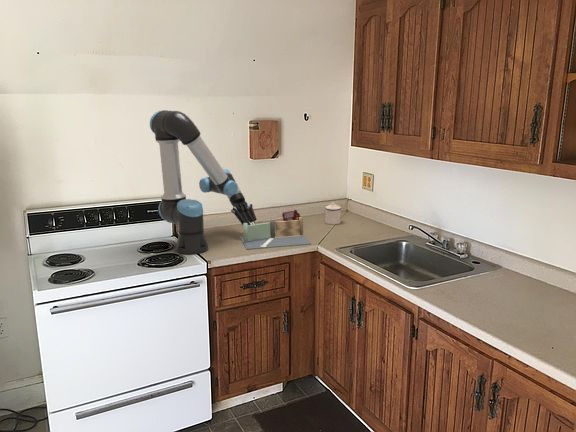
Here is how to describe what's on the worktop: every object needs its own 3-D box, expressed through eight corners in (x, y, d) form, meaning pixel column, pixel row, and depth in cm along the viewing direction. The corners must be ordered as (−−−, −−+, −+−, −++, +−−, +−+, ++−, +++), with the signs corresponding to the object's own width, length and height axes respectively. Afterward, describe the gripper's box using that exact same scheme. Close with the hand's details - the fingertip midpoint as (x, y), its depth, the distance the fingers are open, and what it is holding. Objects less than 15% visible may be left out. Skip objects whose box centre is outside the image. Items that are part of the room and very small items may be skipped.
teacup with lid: (344, 223, 285) (344, 203, 282) (331, 225, 280) (331, 205, 277) (331, 218, 295) (331, 199, 292) (318, 221, 290) (318, 201, 287)
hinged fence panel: (269, 236, 257) (268, 219, 255) (270, 237, 256) (270, 220, 253) (243, 240, 251) (242, 223, 248) (245, 241, 249) (244, 224, 247)
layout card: (246, 249, 240) (246, 248, 239) (239, 236, 260) (239, 235, 260) (311, 244, 247) (311, 243, 247) (299, 232, 268) (299, 231, 268)
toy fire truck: (305, 228, 275) (305, 210, 272) (287, 232, 268) (287, 213, 265) (297, 226, 280) (297, 207, 278) (279, 229, 273) (279, 211, 270)
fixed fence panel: (271, 239, 256) (270, 220, 254) (270, 237, 258) (269, 218, 256) (303, 236, 260) (303, 217, 258) (302, 235, 262) (302, 216, 260)
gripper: (242, 198, 269) (263, 235, 262) (221, 202, 259) (242, 240, 252) (248, 190, 264) (270, 227, 257) (227, 194, 254) (249, 233, 247)
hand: (256, 234), depth 255 cm, fingers closed
